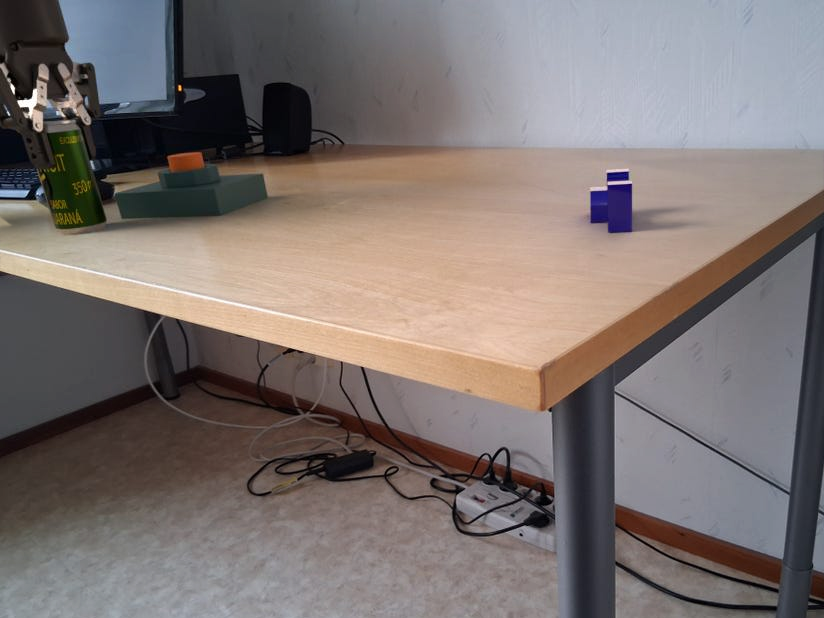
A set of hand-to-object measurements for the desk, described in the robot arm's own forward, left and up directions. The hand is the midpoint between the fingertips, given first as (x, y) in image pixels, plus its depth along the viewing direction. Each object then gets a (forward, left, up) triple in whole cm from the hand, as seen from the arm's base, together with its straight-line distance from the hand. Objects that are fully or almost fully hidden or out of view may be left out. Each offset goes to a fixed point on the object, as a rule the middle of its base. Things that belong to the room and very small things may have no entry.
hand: (66, 163), depth 77 cm
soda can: (-1, 0, -8) cm, 8 cm away
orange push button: (+7, +11, -3) cm, 14 cm away
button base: (+7, +11, -8) cm, 15 cm away
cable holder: (+60, -3, -8) cm, 61 cm away
